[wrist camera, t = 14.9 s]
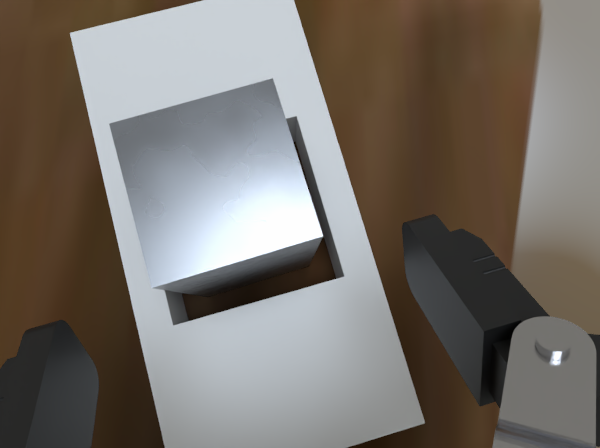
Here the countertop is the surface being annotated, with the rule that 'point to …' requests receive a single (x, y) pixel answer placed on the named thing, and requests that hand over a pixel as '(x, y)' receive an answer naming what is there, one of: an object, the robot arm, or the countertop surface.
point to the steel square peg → (217, 191)
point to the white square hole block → (269, 312)
